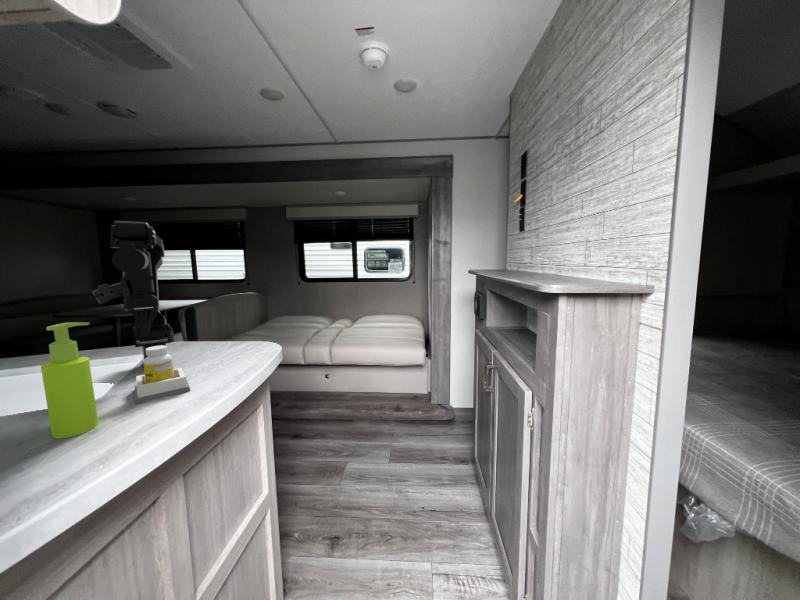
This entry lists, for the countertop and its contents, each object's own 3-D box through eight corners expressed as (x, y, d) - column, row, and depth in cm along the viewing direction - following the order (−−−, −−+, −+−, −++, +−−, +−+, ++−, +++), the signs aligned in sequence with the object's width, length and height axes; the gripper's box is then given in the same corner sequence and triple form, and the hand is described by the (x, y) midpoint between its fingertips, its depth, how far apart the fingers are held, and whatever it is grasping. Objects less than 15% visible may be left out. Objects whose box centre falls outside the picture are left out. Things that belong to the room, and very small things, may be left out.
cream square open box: (135, 389, 74) (133, 375, 74) (185, 379, 81) (183, 366, 80) (135, 403, 67) (133, 388, 66) (190, 390, 73) (188, 376, 73)
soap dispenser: (112, 419, 60) (98, 320, 57) (71, 439, 53) (54, 328, 51) (86, 418, 61) (71, 319, 58) (42, 437, 54) (23, 327, 51)
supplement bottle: (143, 387, 73) (139, 348, 72) (171, 380, 77) (167, 343, 76) (149, 393, 69) (145, 352, 68) (178, 385, 74) (173, 346, 72)
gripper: (96, 272, 79) (104, 330, 81) (88, 273, 65) (98, 344, 67) (151, 271, 86) (157, 324, 88) (155, 272, 72) (162, 336, 74)
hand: (144, 331), depth 79 cm, fingers open, 9 cm apart
